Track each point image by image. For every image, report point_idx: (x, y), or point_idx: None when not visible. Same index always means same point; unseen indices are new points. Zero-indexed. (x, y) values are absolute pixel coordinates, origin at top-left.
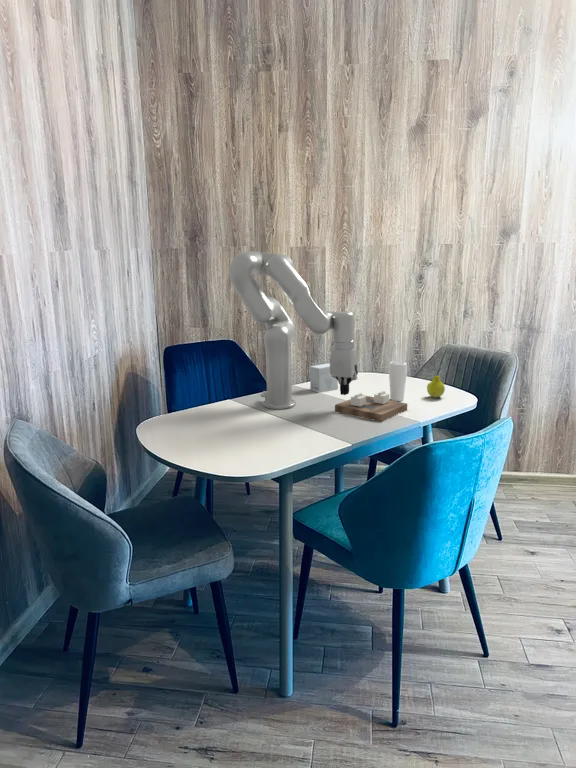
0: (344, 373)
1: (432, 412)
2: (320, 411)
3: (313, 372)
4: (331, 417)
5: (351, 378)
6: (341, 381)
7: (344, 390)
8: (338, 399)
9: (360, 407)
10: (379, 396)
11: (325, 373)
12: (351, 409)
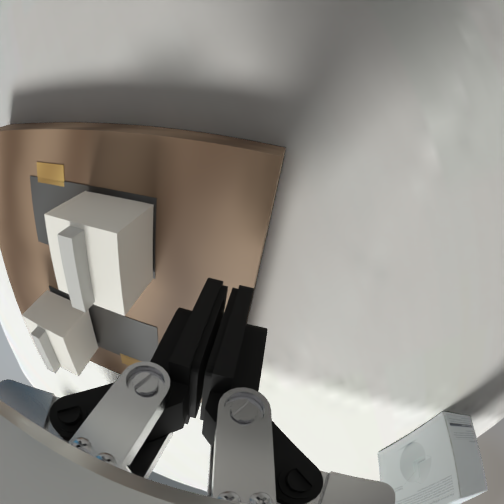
0: (2, 488)
1: (4, 305)
2: (389, 110)
3: (475, 475)
4: (240, 7)
5: (39, 417)
6: (216, 423)
7: (194, 314)
8: (351, 379)
9: (83, 186)
10: (41, 320)
11: (428, 488)
12: (120, 130)
